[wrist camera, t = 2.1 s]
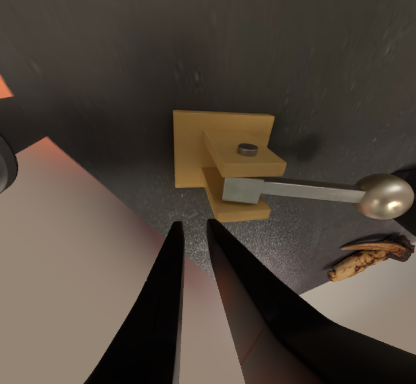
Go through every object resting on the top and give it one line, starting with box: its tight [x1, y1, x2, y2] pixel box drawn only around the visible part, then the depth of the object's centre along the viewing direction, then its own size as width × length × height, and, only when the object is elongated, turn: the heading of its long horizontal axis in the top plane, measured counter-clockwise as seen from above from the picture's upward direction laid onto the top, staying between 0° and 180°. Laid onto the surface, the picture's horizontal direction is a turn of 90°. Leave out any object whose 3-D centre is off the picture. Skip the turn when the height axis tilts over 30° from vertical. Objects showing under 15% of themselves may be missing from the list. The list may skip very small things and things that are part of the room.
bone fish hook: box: [327, 235, 415, 281], centre depth 37 cm, size 9×5×18 cm
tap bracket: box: [173, 110, 287, 223], centre depth 17 cm, size 10×8×9 cm
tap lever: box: [222, 174, 414, 219], centre depth 14 cm, size 14×4×4 cm, turn 86°
